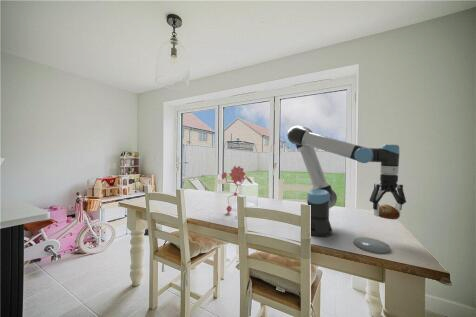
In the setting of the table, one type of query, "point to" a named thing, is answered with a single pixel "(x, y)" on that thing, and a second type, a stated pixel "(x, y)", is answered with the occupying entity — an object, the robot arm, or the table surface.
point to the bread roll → (388, 212)
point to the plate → (371, 245)
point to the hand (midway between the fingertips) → (386, 215)
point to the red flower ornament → (235, 180)
